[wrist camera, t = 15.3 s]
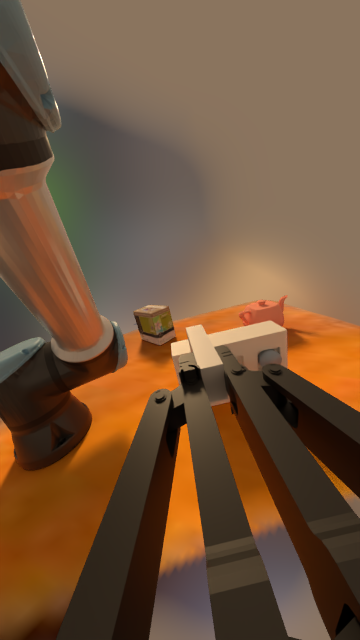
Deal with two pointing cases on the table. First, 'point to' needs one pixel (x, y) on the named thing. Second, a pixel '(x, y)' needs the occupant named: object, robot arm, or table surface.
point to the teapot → (263, 312)
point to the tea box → (155, 324)
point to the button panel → (242, 345)
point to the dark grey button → (269, 357)
